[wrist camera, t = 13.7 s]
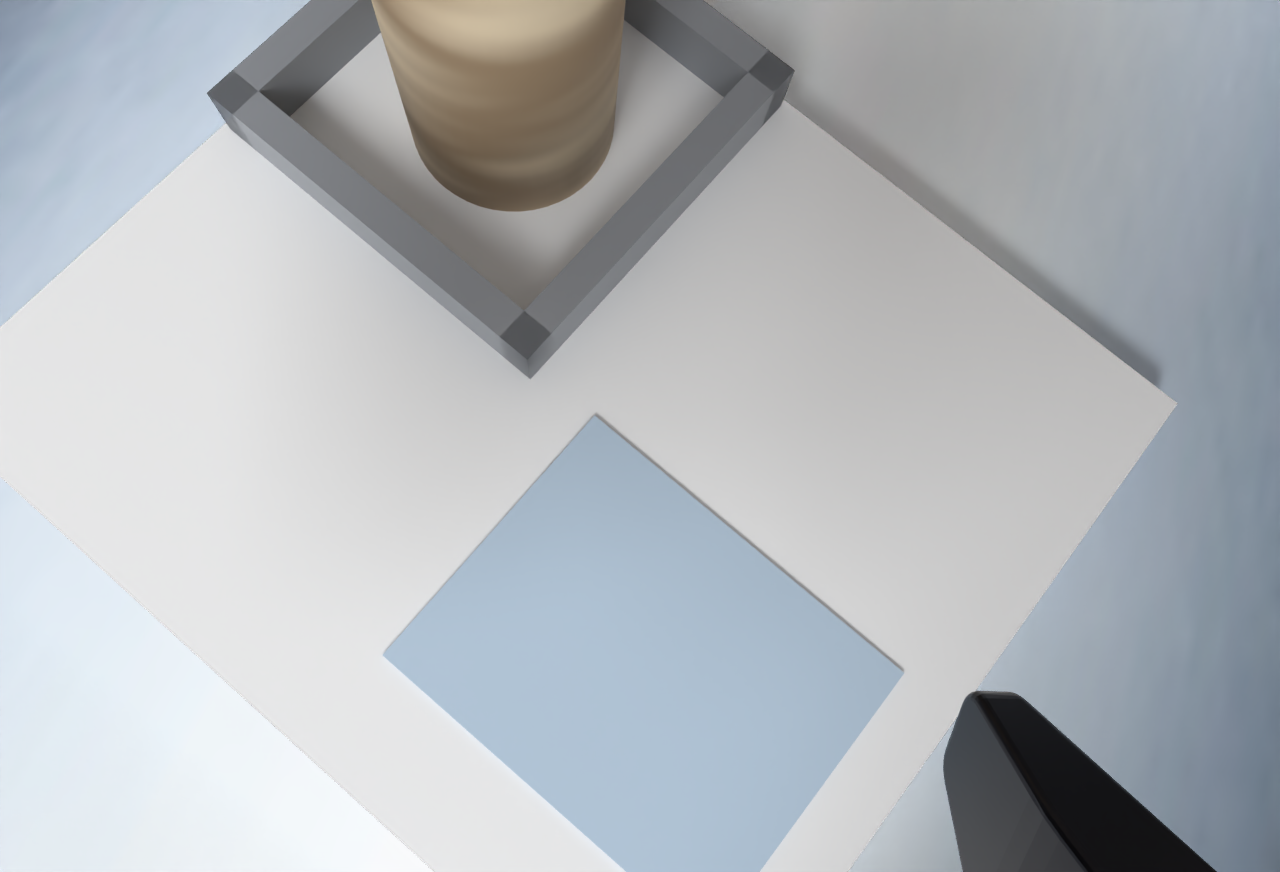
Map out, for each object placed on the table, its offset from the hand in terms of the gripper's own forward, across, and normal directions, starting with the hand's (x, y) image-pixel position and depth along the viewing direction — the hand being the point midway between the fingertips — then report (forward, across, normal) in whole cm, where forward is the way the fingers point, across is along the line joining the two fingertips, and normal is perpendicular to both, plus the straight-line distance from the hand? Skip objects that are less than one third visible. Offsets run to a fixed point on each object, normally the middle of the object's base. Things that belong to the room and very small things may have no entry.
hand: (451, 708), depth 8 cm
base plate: (+14, -1, +5) cm, 15 cm away
